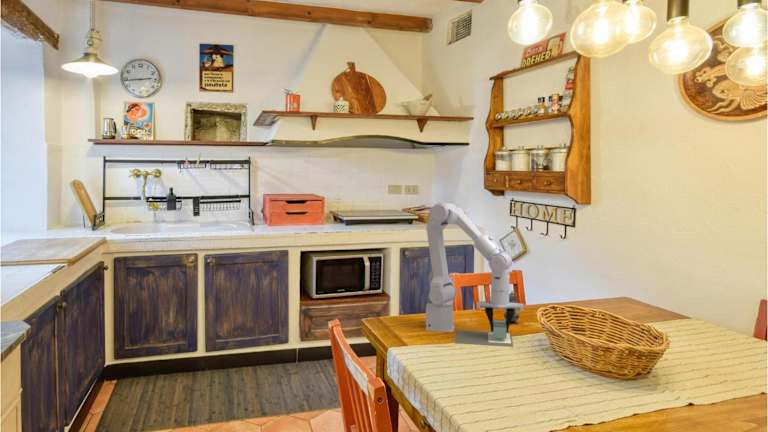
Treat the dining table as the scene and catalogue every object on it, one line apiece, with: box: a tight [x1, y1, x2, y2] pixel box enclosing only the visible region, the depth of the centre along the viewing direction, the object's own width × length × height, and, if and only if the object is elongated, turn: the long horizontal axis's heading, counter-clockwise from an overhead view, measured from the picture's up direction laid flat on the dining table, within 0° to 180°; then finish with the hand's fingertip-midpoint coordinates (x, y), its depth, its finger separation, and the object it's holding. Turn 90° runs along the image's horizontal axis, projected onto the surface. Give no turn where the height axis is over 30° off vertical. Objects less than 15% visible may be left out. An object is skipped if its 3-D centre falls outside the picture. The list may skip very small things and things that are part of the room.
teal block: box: [493, 319, 507, 338], centre depth 161 cm, size 8×4×4 cm, turn 169°
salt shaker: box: [502, 290, 521, 326], centre depth 179 cm, size 6×6×12 cm
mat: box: [454, 329, 514, 348], centre depth 161 cm, size 18×14×1 cm
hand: (499, 331), depth 161 cm, fingers closed on teal block, 4 cm apart
